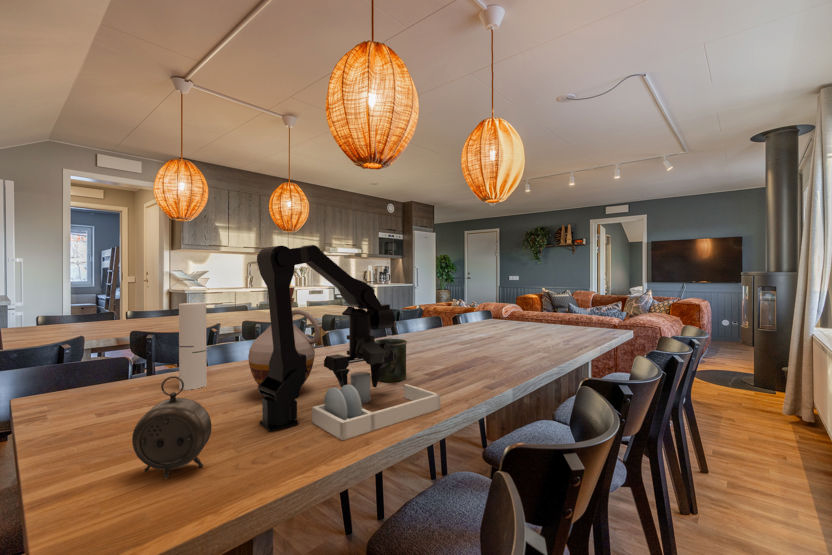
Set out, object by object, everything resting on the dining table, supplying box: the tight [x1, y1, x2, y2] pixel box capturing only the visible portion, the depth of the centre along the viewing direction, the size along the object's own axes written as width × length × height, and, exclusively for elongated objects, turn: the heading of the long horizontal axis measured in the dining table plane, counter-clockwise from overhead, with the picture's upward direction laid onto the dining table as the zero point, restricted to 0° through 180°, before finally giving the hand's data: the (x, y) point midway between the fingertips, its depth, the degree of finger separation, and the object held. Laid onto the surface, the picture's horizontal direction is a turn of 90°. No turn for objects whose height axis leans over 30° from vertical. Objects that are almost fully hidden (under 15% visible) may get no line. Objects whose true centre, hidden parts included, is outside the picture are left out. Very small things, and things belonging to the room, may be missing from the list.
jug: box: [247, 286, 321, 388], centre depth 111 cm, size 20×18×30 cm
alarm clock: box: [131, 375, 212, 479], centre depth 65 cm, size 11×5×16 cm, turn 102°
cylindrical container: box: [178, 302, 208, 391], centre depth 117 cm, size 7×7×25 cm
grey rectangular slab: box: [350, 371, 371, 404], centre depth 104 cm, size 5×5×7 cm
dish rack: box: [311, 383, 442, 441], centre depth 92 cm, size 28×13×9 cm, turn 132°
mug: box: [375, 338, 408, 383], centre depth 125 cm, size 11×15×12 cm
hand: (360, 390), depth 104 cm, fingers open, 9 cm apart
